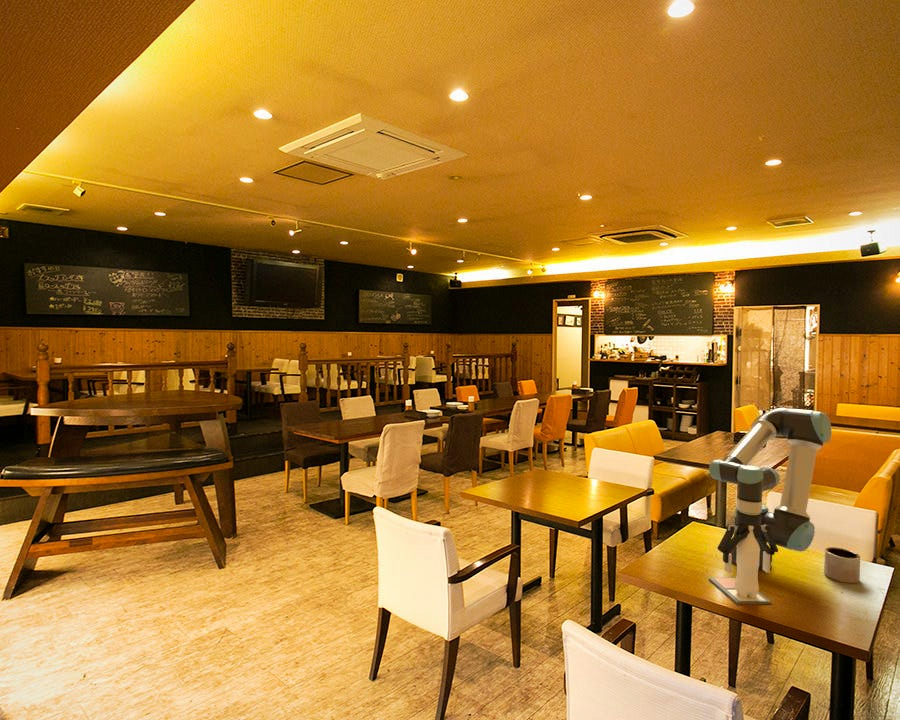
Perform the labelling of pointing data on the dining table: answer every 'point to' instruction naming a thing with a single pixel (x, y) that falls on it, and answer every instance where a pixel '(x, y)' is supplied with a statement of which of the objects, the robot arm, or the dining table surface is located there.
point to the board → (729, 589)
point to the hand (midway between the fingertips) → (746, 571)
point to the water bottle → (747, 566)
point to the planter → (842, 565)
